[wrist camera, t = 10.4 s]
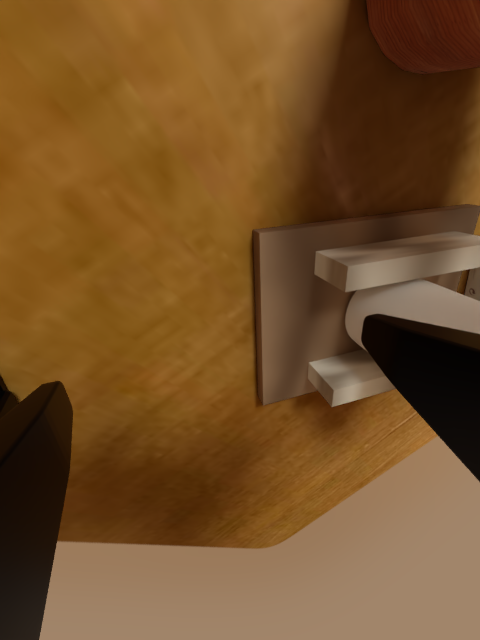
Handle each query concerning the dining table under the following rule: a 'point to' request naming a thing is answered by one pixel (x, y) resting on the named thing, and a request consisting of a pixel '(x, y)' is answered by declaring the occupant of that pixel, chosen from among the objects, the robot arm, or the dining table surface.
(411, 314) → the can
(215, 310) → the dining table surface
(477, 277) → the supplement box
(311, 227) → the slot block
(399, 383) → the robot arm
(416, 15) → the potted plant
